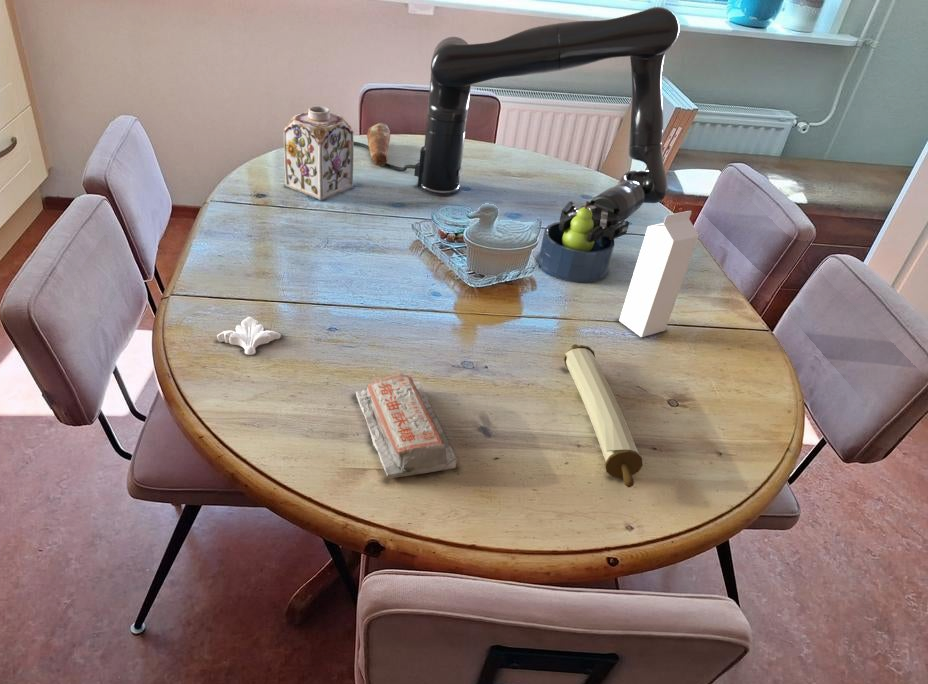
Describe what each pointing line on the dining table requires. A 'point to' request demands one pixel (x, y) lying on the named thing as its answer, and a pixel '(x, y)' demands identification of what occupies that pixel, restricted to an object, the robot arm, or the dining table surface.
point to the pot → (574, 257)
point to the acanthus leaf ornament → (248, 335)
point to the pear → (579, 231)
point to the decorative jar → (318, 153)
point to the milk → (659, 274)
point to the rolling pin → (604, 414)
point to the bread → (379, 143)
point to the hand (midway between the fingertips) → (575, 232)
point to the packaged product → (404, 427)
